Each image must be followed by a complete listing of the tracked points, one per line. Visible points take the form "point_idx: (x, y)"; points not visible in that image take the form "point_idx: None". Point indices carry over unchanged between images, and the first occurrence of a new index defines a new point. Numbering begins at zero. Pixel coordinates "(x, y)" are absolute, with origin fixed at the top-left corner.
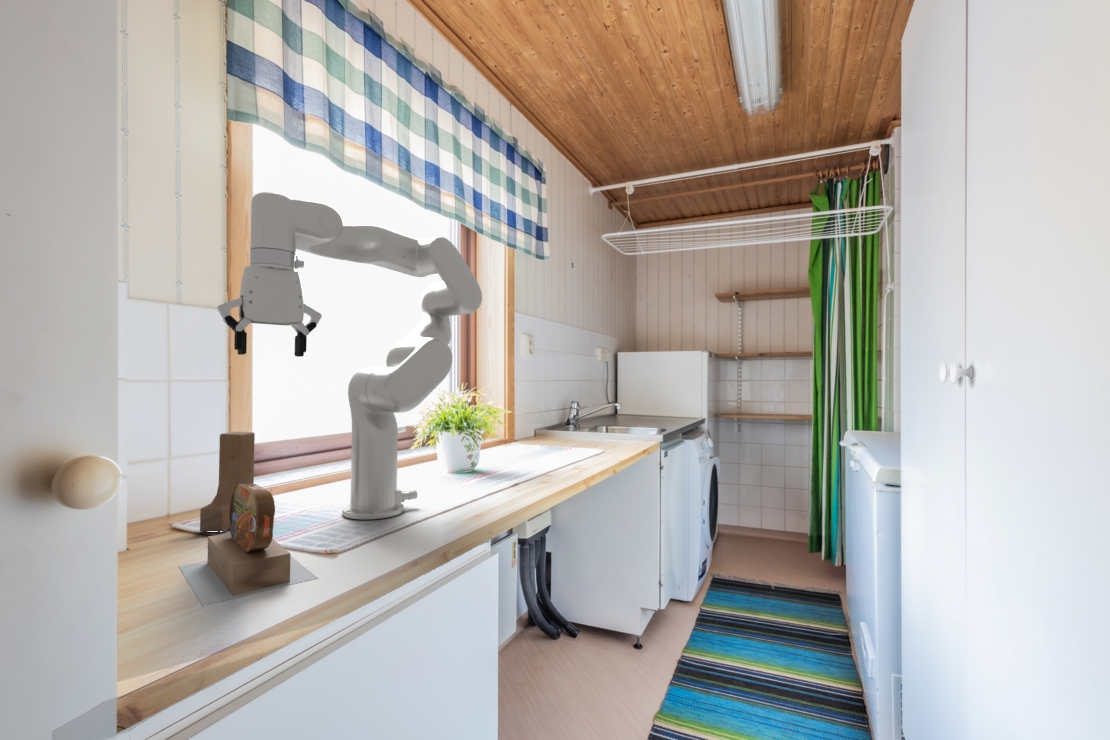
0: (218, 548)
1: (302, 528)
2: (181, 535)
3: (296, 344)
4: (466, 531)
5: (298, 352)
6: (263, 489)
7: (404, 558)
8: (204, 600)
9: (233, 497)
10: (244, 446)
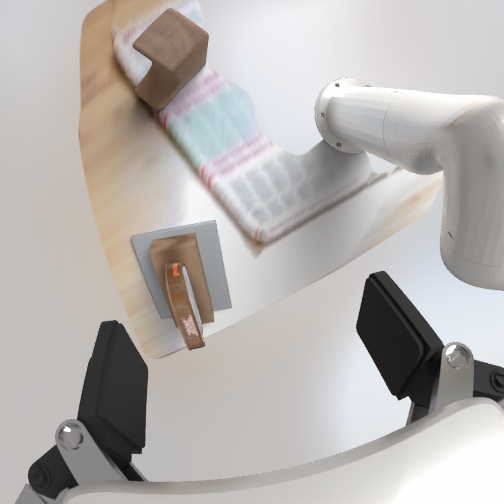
0: (162, 290)
1: (255, 134)
2: (121, 96)
3: (388, 336)
4: (378, 239)
5: (363, 328)
6: (196, 334)
7: (303, 280)
8: (161, 312)
9: (167, 277)
10: (184, 65)
